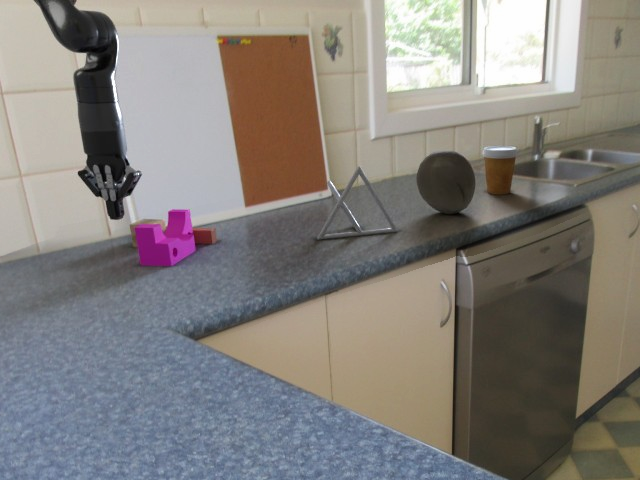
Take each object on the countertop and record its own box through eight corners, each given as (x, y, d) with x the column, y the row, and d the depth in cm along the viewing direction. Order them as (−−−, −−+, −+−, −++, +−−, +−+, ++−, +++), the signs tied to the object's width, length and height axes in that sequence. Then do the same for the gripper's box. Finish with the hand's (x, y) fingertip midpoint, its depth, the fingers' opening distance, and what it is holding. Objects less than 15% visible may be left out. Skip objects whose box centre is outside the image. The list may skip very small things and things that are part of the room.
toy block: (171, 266, 125) (165, 228, 122) (140, 266, 126) (134, 227, 123) (205, 245, 138) (201, 209, 136) (177, 244, 139) (172, 209, 137)
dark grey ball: (476, 207, 166) (477, 146, 161) (472, 221, 153) (473, 155, 148) (421, 206, 168) (420, 146, 163) (412, 219, 155) (411, 155, 150)
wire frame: (326, 243, 156) (382, 207, 156) (338, 269, 145) (399, 231, 145) (284, 183, 145) (345, 145, 145) (295, 207, 135) (360, 166, 134)
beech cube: (133, 247, 138) (129, 224, 136) (147, 241, 142) (143, 218, 140) (154, 249, 136) (150, 225, 135) (168, 242, 141) (164, 219, 139)
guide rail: (143, 241, 142) (140, 227, 141) (148, 238, 144) (146, 225, 143) (212, 244, 138) (210, 230, 137) (217, 242, 140) (215, 228, 139)
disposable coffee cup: (517, 189, 186) (519, 145, 182) (514, 196, 178) (516, 150, 173) (483, 188, 188) (484, 145, 184) (479, 195, 180) (480, 150, 175)
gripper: (145, 126, 125) (158, 216, 131) (85, 124, 128) (100, 213, 134) (120, 130, 118) (134, 225, 124) (57, 128, 121) (74, 221, 127)
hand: (116, 218), depth 129 cm, fingers closed
